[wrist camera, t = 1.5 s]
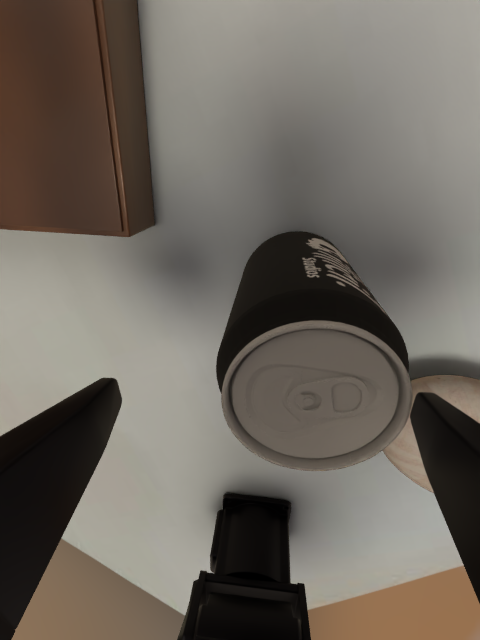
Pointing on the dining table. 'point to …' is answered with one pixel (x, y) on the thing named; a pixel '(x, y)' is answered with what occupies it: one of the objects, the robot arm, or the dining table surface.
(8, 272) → the dining table surface
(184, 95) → the dining table surface
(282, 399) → the beverage can
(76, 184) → the walnut block
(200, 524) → the dining table surface
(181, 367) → the dining table surface
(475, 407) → the decorative stone
